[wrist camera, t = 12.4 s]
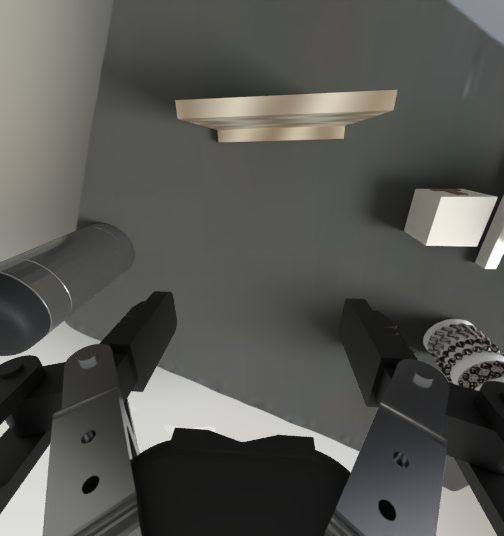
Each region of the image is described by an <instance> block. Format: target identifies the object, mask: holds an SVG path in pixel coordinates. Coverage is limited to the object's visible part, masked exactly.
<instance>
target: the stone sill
mask: <svg viewBox="0 0 504 536" xmlns="http://www.w3.org/2000/svg"><path fill="white" fill-rule="evenodd" d="M503 253H504V195H503V197H502V199H501V202H500V204H499V206H498V209H497V211H496V214H495V216H494V218H493V221H492V223H491V225H490V228H489V230H488V232H487V235H486V237H485V240H484V242H483V244H482V247H481V249H480V251H479V254H478V256H477V259H476V261H475V263H476V264H478V265H479V266H481V267H483V268H484V269H496V268H497V266H498V264H499V261H500V259H501V257H502V255H503Z"/></svg>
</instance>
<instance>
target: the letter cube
mask: <svg viewBox="0 0 504 536" xmlns="http://www.w3.org/2000/svg"><path fill="white" fill-rule="evenodd" d="M497 198H498V197H496V196H492V195H488V194H483V193H479V192H474V191H470V190H465V189H415V192H414V196H413V200H412V203H411V207H410V211H409V214H408V218H407V222H406V225H405V229H404V232H406V233H407V234H409V235H410V236H412V237H413V238H415V239H416V240H418V241H419V242H421V243H422V244H424V245H425V246H471V247H477V245H478V243H479V241H480V238H481V236H482V234H483V231H484V229H485V227H486V224H487V222H488V220H489V217H490V215H491V212H492V210H493V208H494V205H495V203H496V201H497Z"/></svg>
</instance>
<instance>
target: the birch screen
mask: <svg viewBox="0 0 504 536" xmlns="http://www.w3.org/2000/svg"><path fill="white" fill-rule="evenodd" d="M396 95H397V90H384V91H362V92H341V93H320V94H299V95H277V96H256V97H235V98H214V99H192V100H175V102H176V110H177V117H178V119H180V120H184V121H187V122H191V123H194V124H198V125H201V126H205V127H208V128H212V129H215V130H217V131H218V142H251V141H285V140H319V139H344V131H345V126H346V125H349V124H352V123H355V122H358V121H361V120H365V119H368V118H371V117H374V116H377V115H380V114H383V113H387V112H390V111H393V110H394V105H395V100H396Z"/></svg>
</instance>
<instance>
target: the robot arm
mask: <svg viewBox="0 0 504 536" xmlns="http://www.w3.org/2000/svg"><path fill="white" fill-rule="evenodd" d="M133 257H134V255H133V249H132V246H131V244H130V242H129V240H128V239H127V238H126V236H125V235H124V234H123V233H122V232H121V231H119V230H118V229H116V228H115V227H113V226H110V225H107V224H103V223H96V224H92V225H89V226H87V227H85V228H82V229H80V230H77V231H75V232H72V233H70V234H67V235H65V236H63V237H60V238H58V239H55V240H53V241H50V242H48V243H46V244H43V245H41V246H38V247H36V248H33V249H31V250H29V251H26V252H24V253H21V254H19V255H17V256H14V257H12V258H10V259H7V260H5V261H2V262H0V356H9V355H16V354H19V353H22V352H24V351H26V350H28V349H29V348H31V347H32V346H34V345H35V344H36V343H37V342H38V341H40V340H41V339H42V338H43V337H45V336H46V335H47V334H48V333H50V332H51V331H52V330H53V329H54V328H56V327H57V326H58V325H59V324H61V323H62V322H63V321H64V320H65V319H67V318H68V317H69V316H70V315H72V314H73V313H74V312H75V311H76V310H78V309H79V308H80V307H81V306H83V305H84V304H85V303H86V302H88V301H89V300H90V299H91V298H92V297H94V296H95V295H96V294H97V293H99V292H100V291H101V290H102V289H104V288H105V287H106V286H107V285H108V284H110V283H111V282H112V281H114V280H115V279H116V278H117V277H119V276H120V275H121V274H122V273H123V272H125V271H126V270H127V269H128V268H129V267H130V266H131V264H132V262H133ZM176 326H177V318H176V311H175V305H174V299H173V294H172V293H171V292H160V291H155V292H153V293H152V294H151V295H150V297H149V298H148V299H147V300H146V301H142V302H141V303H139V304H137V305H136V306H134V307H132V308H131V310H130V311H129V312H128V313H127V314H126V316H124V317H123V318H122V319H121V321H120V323H118V324H117V325H116V326H115V327H114V328H113V329H112V331H111V332H110V333H109V334H108V335H107V336H106V337H105V338H104V339H103V340H102V342H101V343H100V344H94V345H90V346H87V347H84V348H82V349H80V350H78V351H77V352H75V353H74V354H73V355H71V356H70V357H69V358H68V359H67V361H66V362H64V363H58V364H52V365H47V366H42V364H41V362H40V360H39V358H38V357H36V356H31V355H29V356H21V357H17V358H14V359H11V360H9V361H7V362H5V363H3V364H1V365H0V425H1V424H2V422H3V421H4V420H5V421H6V422H7V424H8V425H9V429H8V430H7V431H6V432H5V433H4V434H3V436H2V437H0V514H1V512H2V511H3V509H4V508H5V507H6V505H7V504H8V502H9V501H10V499H11V498H12V497H13V495H14V494H15V492H16V491H17V490H18V488H19V487H20V485H21V484H22V483H23V481H24V480H25V478H26V477H27V475H28V474H29V473H30V471H31V470H32V468H33V467H34V466H35V464H36V463H37V461H38V460H39V458H40V457H41V456H42V454H43V453H44V451H45V450H46V449H47V447H48V446H49V444H50V443H51V444H50V456H49V467H48V480H47V491H46V503H45V514H44V526H43V536H436V530H437V521H438V514H439V505H440V499H441V491H442V483H443V476H444V468H445V460H446V455H449V456H451V457H454V458H455V460H456V462H457V464H458V466H459V467H460V469H461V471H462V473H463V475H464V476H465V478H466V480H467V482H468V484H469V485H470V487H471V489H472V491H473V493H474V494H475V496H476V498H477V500H478V502H479V503H480V505H481V507H482V509H483V511H484V512H485V514H486V516H487V518H488V520H489V521H490V523H491V525H492V527H493V529H494V530H495V532H496V534H497V536H504V383H503V382H498V381H487V382H485V383H483V385H482V386H481V388H480V390H479V391H477V390H474V389H470V388H467V387H463V386H460V385H456V384H453V383H450V382H448V380H447V378H446V377H445V376H444V375H443V374H442V373H441V372H440V371H439V370H438V369H436V368H435V367H433V366H432V365H430V364H428V363H425V362H423V361H420V360H418V359H417V358H416V357H415V355H414V354H413V353H412V351H411V350H410V348H409V347H408V346H407V344H406V343H405V342H404V340H403V339H402V337H401V336H400V335H399V333H398V332H397V331H396V329H395V328H394V326H393V325H392V324H391V322H390V321H389V320H388V318H387V317H385V316H384V315H383V314H381V313H380V312H378V311H373V310H372V309H371V307H370V306H369V304H368V303H367V301H366V300H365V299H346V300H345V303H344V309H343V314H342V319H341V324H340V337H341V341H342V344H343V346H344V349H345V352H346V354H347V357H348V359H349V362H350V364H351V367H352V370H353V372H354V375H355V377H356V380H357V382H358V385H359V388H360V390H361V393H362V395H363V398H364V401H365V403H366V406H369V407H378V410H377V412H376V414H375V417H374V419H373V422H372V424H371V426H370V429H369V431H368V433H367V436H366V438H365V440H364V443H363V445H362V448H361V450H360V452H359V455H358V457H357V460H356V462H355V464H354V467H353V469H352V472H351V473H350V472H349V471H348V470H347V469H346V468H345V467H344V466H342V465H341V464H340V463H339V462H337V461H335V460H334V459H332V458H331V457H329V456H327V455H325V454H323V453H321V452H319V451H316V450H315V446H314V439H313V437H301V436H287V435H276V436H271V437H266V438H261V439H257V440H252V441H247V442H239V441H236V440H234V439H231V438H228V437H226V436H223V435H220V434H218V433H215V432H212V431H209V430H200V429H185V428H175V430H174V433H173V435H172V438H171V440H170V441H165V442H162V443H160V444H157V445H155V446H153V447H150V448H149V449H147V450H145V451H143V452H142V453H140V452H139V448H138V444H137V440H136V435H135V431H134V426H133V421H132V417H131V412H130V408H129V403H128V400H127V398H128V396H129V394H130V392H131V391H137V392H143V390H144V388H145V387H146V385H147V383H148V381H149V379H150V377H151V375H152V374H153V372H154V370H155V368H156V366H157V364H158V362H159V361H160V359H161V357H162V355H163V353H164V351H165V349H166V348H167V346H168V344H169V342H170V340H171V338H172V336H173V335H174V333H175V330H176Z"/></svg>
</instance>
